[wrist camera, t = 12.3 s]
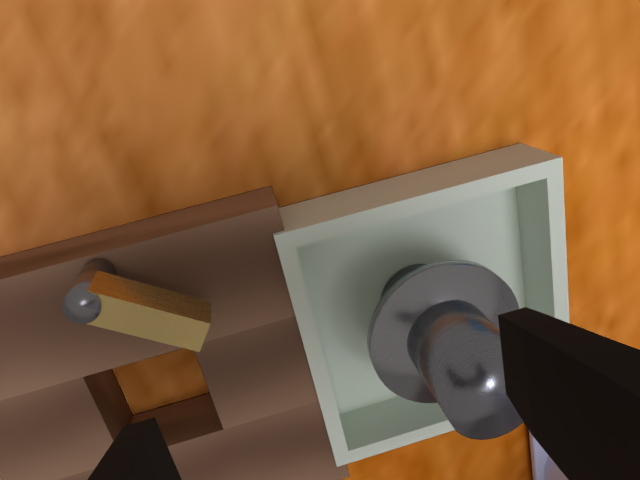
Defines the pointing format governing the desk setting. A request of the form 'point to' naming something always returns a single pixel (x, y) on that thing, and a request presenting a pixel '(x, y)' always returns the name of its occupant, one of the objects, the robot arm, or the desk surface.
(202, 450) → the socket block
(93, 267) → the lever
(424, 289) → the pin
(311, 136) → the desk surface
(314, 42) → the desk surface
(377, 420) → the tray
